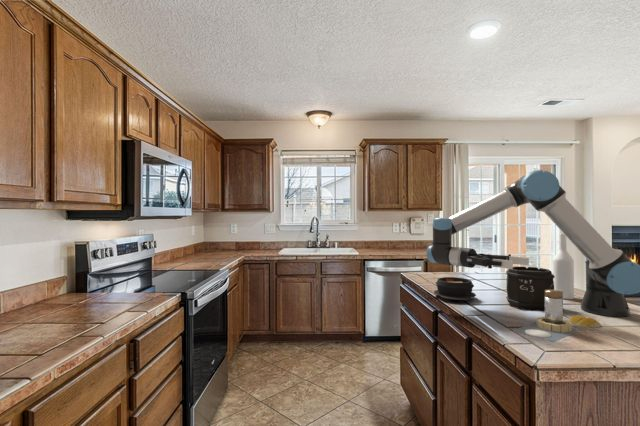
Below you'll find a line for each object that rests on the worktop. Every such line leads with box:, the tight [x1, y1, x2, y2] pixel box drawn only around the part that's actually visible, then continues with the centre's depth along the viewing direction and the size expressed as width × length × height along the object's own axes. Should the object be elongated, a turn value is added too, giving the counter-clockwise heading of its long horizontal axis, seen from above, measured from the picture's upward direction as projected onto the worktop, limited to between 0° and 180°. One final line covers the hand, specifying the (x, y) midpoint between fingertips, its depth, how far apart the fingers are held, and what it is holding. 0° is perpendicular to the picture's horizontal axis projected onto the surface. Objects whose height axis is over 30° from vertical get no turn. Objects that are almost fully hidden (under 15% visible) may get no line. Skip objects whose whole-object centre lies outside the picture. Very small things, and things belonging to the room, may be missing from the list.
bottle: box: [552, 232, 575, 300], centre depth 163 cm, size 8×8×30 cm
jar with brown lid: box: [544, 289, 564, 324], centre depth 115 cm, size 5×5×12 cm
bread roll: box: [568, 315, 602, 328], centre depth 120 cm, size 8×9×4 cm
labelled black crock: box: [505, 266, 555, 312], centre depth 149 cm, size 18×18×16 cm
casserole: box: [433, 276, 477, 301], centre depth 164 cm, size 25×19×8 cm
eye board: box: [512, 316, 582, 343], centre depth 112 cm, size 20×12×4 cm, turn 124°
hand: (520, 263), depth 123 cm, fingers open, 13 cm apart
